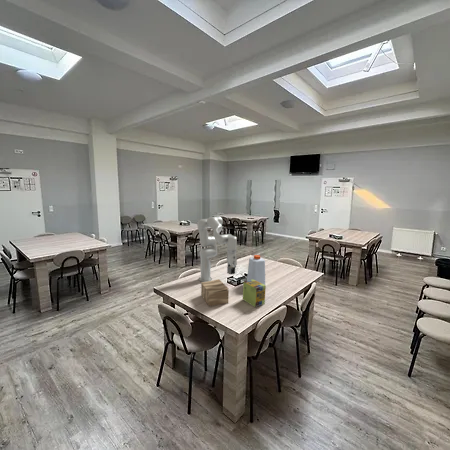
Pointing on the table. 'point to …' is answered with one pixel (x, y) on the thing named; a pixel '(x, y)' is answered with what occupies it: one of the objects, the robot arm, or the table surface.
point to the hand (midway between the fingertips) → (231, 271)
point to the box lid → (214, 286)
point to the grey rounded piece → (229, 269)
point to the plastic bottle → (256, 269)
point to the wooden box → (214, 297)
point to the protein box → (254, 292)
